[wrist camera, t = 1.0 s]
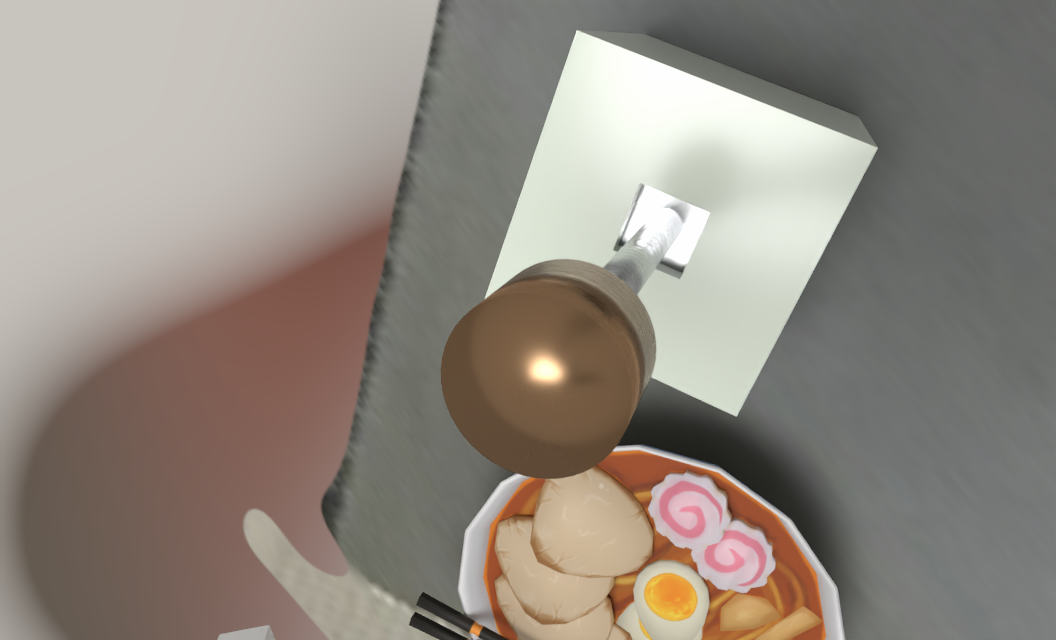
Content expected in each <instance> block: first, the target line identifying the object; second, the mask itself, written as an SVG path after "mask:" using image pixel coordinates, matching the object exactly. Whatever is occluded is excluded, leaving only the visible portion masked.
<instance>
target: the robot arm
mask: <svg viewBox="0 0 1056 640" xmlns="http://www.w3.org/2000/svg"><path fill="white" fill-rule="evenodd" d="M218 640H275V638H274V635H273V633H272V631H271V628H270V626H269V625H267V626H262V627H256V628H251V629H246V630H241V631H235V632H230V633H225V634H220V635H219V638H218Z"/></svg>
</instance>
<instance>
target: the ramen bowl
mask: <svg viewBox="0 0 1056 640" xmlns="http://www.w3.org/2000/svg"><path fill="white" fill-rule="evenodd" d="M458 593H459V596H460V600H461V603H462V607H463V611H464V614H465V615H463V614H462V613H460V612H458V611H456V610H454V609H453V608H451V607H449V606H447V605H445V604H444V603H442V602H440V601H438V600H436V599H435V598H433V597H431V596H429V595H427V594H426V593H424V592H423V593H422V594H421V596H420V597H419V599H418V602H417V604H416V605H417V606H419V607H421V608H423V609H425V610H427V611H429V612H431V613H433V614H435V615H436V616H438V617H440V618H442V619H444V620H446V621H448V622H450V623H452V624H454V625H456V626H458V627H459V628H461V629H463V630H465V631H467V632H469V633H470V635H471V639H472V640H845V635H844V629H843V622H842V615H841V608H840V601H839V594H838V588H837V586H836V585H835V583H834V582H833V580H832V579H831V578H830V576H829V575H828V573H827V572H826V570H825V569H824V567H823V566H822V564H821V563H820V561H819V560H818V558H817V557H816V555H815V554H814V552H813V551H812V550H811V548H810V547H809V545H808V544H807V542H806V541H805V539H804V538H803V536H802V535H801V533H800V532H799V530H798V529H797V527H796V526H795V524H794V523H793V522H792V520H791V519H790V518H789V517H787V516H786V515H785V514H784V513H783V512H782V511H780V510H779V509H777V508H776V507H775V506H773V505H772V504H771V503H769V502H768V501H766V500H765V499H764V498H762V497H761V496H759V495H758V494H757V493H755V492H754V491H753V490H751V489H750V488H748V487H747V486H746V485H744V484H743V483H741V482H740V481H739V480H737V479H736V478H735V477H733V476H732V475H730V474H729V473H728V472H726V471H725V470H723V469H722V468H721V467H719V466H718V465H715V464H711V463H708V462H704V461H700V460H697V459H693V458H690V457H686V456H683V455H679V454H676V453H672V452H669V451H665V450H661V449H658V448H654V447H651V446H647V445H644V444H641V445H625V446H616V447H615V449H614V450H613V451H612V453H611V454H610V455H608V456H607V457H606V458H605V459H604V460H603V461H602V462H600V463H599V464H598V465H596V466H595V467H593V468H591V469H589V470H587V471H585V472H583V473H580V474H577V475H574V476H570V477H565V478H558V479H540V478H533V477H527V476H523V475H520V474H515V475H513V476H511V477H509V478H507V479H505V480H503V481H502V482H500V484H499V485H498V486H497V488H496V489H495V490H494V492H493V493H492V495H491V496H490V497H489V499H488V500H487V502H486V503H485V504H484V506H483V507H482V508H481V510H480V511H479V513H478V514H477V515H476V517H475V518H474V519H473V521H472V522H471V524H470V525H469V526H468V528H467V529H466V530H465V537H464V544H463V552H462V560H461V568H460V575H459V583H458ZM409 625H410V626H412V627H414V628H417V629H419V630H421V631H423V632H425V633H427V634H429V635H431V636H433V637H435V638H437V639H439V640H469V639H467V638H465V637H463V636H461V635H459V634H458V633H456V632H454V631H452V630H450V629H448V628H446V627H444V626H442V625H440V624H438V623H436V622H434V621H432V620H430V619H428V618H426V617H424V616H423V615H421V614H419V613H417V612H415V613H414V615H413V616H412V618H411V620H410V624H409Z"/></svg>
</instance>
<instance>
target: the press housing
mask: <svg viewBox="0 0 1056 640" xmlns="http://www.w3.org/2000/svg"><path fill="white" fill-rule="evenodd" d="M877 149H878V147H877V145H876V144H875V142H874V141H873V139H872V137H871V136H870V134H869V133H868V131H867V130H866V128H865V126H864V125H863V123H862V122H861V120H860V118H859V117H858V116H856V115H853V114H851V113H848V112H845V111H843V110H840V109H838V108H835V107H833V106H830V105H827V104H825V103H822V102H820V101H817V100H814V99H812V98H809V97H807V96H804V95H801V94H799V93H796V92H794V91H791V90H788V89H786V88H783V87H781V86H778V85H775V84H773V83H770V82H768V81H765V80H763V79H760V78H757V77H755V76H752V75H750V74H747V73H744V72H742V71H739V70H737V69H734V68H731V67H729V66H726V65H724V64H721V63H718V62H716V61H713V60H711V59H708V58H705V57H703V56H700V55H698V54H695V53H692V52H690V51H687V50H685V49H682V48H680V47H677V46H674V45H672V44H669V43H667V42H664V41H661V40H659V39H656V38H654V37H651V36H648V35H646V34H635V33H617V32H600V31H583V30H577V32H576V35H575V37H574V40H573V43H572V46H571V49H570V52H569V55H568V58H567V61H566V64H565V67H564V69H563V72H562V75H561V78H560V81H559V84H558V87H557V90H556V93H555V96H554V99H553V101H552V104H551V107H550V110H549V113H548V116H547V119H546V122H545V125H544V128H543V131H542V134H541V136H540V139H539V142H538V145H537V148H536V151H535V154H534V157H533V160H532V163H531V166H530V168H529V171H528V174H527V177H526V180H525V183H524V186H523V189H522V192H521V195H520V198H519V200H518V203H517V206H516V209H515V212H514V215H513V218H512V221H511V224H510V227H509V230H508V232H507V235H506V238H505V241H504V244H503V247H502V250H501V253H500V256H499V259H498V262H497V265H496V267H495V270H494V273H493V276H492V279H491V282H490V285H489V288H488V291H487V294H486V297H485V299H486V298H487V297H488V296H490V295H491V294H492V293H493V292H495V291H496V290H497V289H499V288H500V287H501V286H502V285H504V284H505V283H506V282H508V281H509V280H510V279H511V278H513V277H514V276H515V275H517V274H518V273H520V272H521V271H523V270H524V269H526V268H528V267H530V266H532V265H534V264H537V263H540V262H544V261H548V260H554V259H573V260H580V261H585V262H589V263H592V264H595V265H597V266H600V267H602V268H603V267H604V266H605V265H606V264H607V263H608V262H609V261H610V259H611V258H612V257H613V256H614V255H615V254H616V253H617V252H618V251H619V250H620V249H621V248H622V246H620V245H618V244H619V241H620V239H621V236H622V234H623V231H624V229H625V226H626V224H627V222H628V219H629V217H630V214H631V212H632V209H633V207H634V204H635V202H636V199H637V197H638V195H639V192H640V190H641V187H642V185H643V184H644V185H646V186H648V187H651V188H653V189H655V190H658V191H660V192H663V193H665V194H667V195H670V196H672V197H674V198H677V199H679V200H682V201H684V202H686V203H689V204H691V205H693V206H696V207H698V208H701V209H703V210H705V211H708V212H710V214H709V216H708V218H707V221H706V223H705V225H704V227H703V229H702V232H701V234H700V236H699V238H698V241H697V243H696V245H695V247H694V249H693V252H692V254H691V256H690V258H689V260H688V263H687V265H686V267H685V269H684V272H683V273H682V272H679V271H677V270H675V269H673V268H670V267H668V266H666V265H663V264H661V263H659V265H658V266H657V268H656V269H655V270H654V272H653V273H652V275H651V276H650V278H649V279H648V280H647V282H646V283H645V285H644V286H643V288H642V289H641V290H640V292H639V293H638V295H637V296H638V297H639V299H640V300H641V302H642V303H643V305H644V306H645V308H646V310H647V312H648V314H649V316H650V319H651V322H652V325H653V328H654V333H655V338H656V361H655V365H654V370H653V373H652V376H651V377H652V378H654V379H656V380H659V381H661V382H663V383H665V384H667V385H669V386H671V387H674V388H676V389H678V390H680V391H682V392H684V393H686V394H689V395H691V396H693V397H695V398H697V399H699V400H702V401H704V402H706V403H708V404H710V405H712V406H714V407H717V408H719V409H721V410H723V411H725V412H727V413H729V414H732V415H734V416H736V417H737V415H738V413H739V411H740V409H741V407H742V405H743V404H744V402H745V400H746V398H747V396H748V394H749V392H750V390H751V388H752V386H753V384H754V383H755V381H756V379H757V377H758V375H759V373H760V371H761V369H762V367H763V365H764V364H765V362H766V360H767V358H768V356H769V354H770V352H771V350H772V348H773V346H774V345H775V343H776V341H777V339H778V337H779V335H780V333H781V331H782V329H783V327H784V326H785V324H786V322H787V320H788V318H789V316H790V314H791V312H792V310H793V308H794V307H795V305H796V303H797V301H798V299H799V297H800V295H801V293H802V291H803V289H804V288H805V286H806V284H807V282H808V280H809V278H810V276H811V274H812V272H813V270H814V269H815V267H816V265H817V263H818V261H819V259H820V257H821V255H822V253H823V251H824V250H825V248H826V246H827V244H828V242H829V240H830V238H831V236H832V234H833V232H834V231H835V229H836V227H837V225H838V223H839V221H840V219H841V217H842V215H843V213H844V212H845V210H846V208H847V206H848V204H849V202H850V200H851V198H852V196H853V194H854V193H855V191H856V189H857V187H858V185H859V183H860V181H861V179H862V177H863V175H864V174H865V172H866V170H867V168H868V166H869V164H870V162H871V160H872V158H873V156H874V155H875V153H876V151H877Z"/></svg>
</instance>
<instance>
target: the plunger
mask: <svg viewBox="0 0 1056 640" xmlns="http://www.w3.org/2000/svg"><path fill="white" fill-rule="evenodd" d="M709 214H710V212H708V211H705V210H703V209H701V208H698V207H696V206H693V205H691V204H689V203H686V202H684V201H682V200H679V199H677V198H674V197H672V196H670V195H667V194H665V193H663V192H660V191H658V190H655V189H653V188H651V187H648V186H646V185H644V184H643V185H642V187H641V190H640V192H639V195H638V197H637V199H636V202H635V204H634V207H633V209H632V212H631V214H630V217H629V219H628V222H627V224H626V226H625V229H624V231H623V234H622V236H621V239H620V241H619V244H618V245H620V246H622V248H621V249H620V250H619V251H618V252H617V253H616V254H615V255H614V256H613V257H612V258H611V259H610V261H609V262H608V263H607V264H606V265H605V266H604V267H603V268H602V267H600V266H597V265H595V264H592V263H589V262H585V261H580V260H573V259H554V260H548V261H544V262H540V263H537V264H534V265H532V266H530V267H528V268H526V269H524V270H523V271H521V272H520V273H518V274H517V275H515V276H514V277H513V278H511V279H510V280H509V281H508V282H506V283H505V284H504V285H502V286H501V287H500V288H499V289H497V290H496V291H495V292H493V293H492V294H491V295H490V296H488V297H487V298H486V299H484V300H483V301H482V302H481V303H479V304H478V305H477V306H475V307H474V308H473V309H472V310H470V311H469V312H468V313H467V314H466V315H465V316H464V317H463V318H462V319H461V320H460V321H459V323H458V324H457V325H456V326H455V328H454V329H453V331H452V333H451V334H450V336H449V338H448V341H447V343H446V346H445V349H444V353H443V357H442V364H441V384H442V390H443V395H444V399H445V402H446V405H447V408H448V410H449V413H450V415H451V417H452V419H453V421H454V422H455V424H456V426H457V428H458V429H459V430H460V432H461V433H462V435H463V436H464V437H465V438H466V439H467V441H468V442H469V443H470V444H471V445H472V446H473V447H474V448H475V449H476V450H477V451H478V452H479V453H481V454H482V455H483V456H485V457H486V458H487V459H489V460H490V461H491V462H493V463H495V464H497V465H498V466H500V467H502V468H504V469H506V470H509V471H511V472H513V473H517V474H520V475H523V476H527V477H533V478H540V479H558V478H565V477H570V476H574V475H577V474H580V473H583V472H585V471H587V470H589V469H591V468H593V467H595V466H596V465H598V464H599V463H600V462H602V461H603V460H604V459H605V458H606V457H607V456H608V455H610V454H611V453H612V451H613V450H614V449H615V447H616V446H617V445H618V444H619V442H620V440H621V438H622V436H623V435H624V433H625V431H626V429H627V427H628V424H629V422H630V420H631V418H632V416H633V414H634V412H635V410H636V408H637V406H638V404H639V402H640V400H641V398H642V395H643V393H644V391H645V389H646V387H647V385H648V383H649V381H650V378H651V376H652V373H653V370H654V365H655V361H656V338H655V333H654V328H653V325H652V322H651V319H650V316H649V314H648V312H647V310H646V308H645V306H644V305H643V303H642V302H641V300H640V299H639V297H638V296H637V295H638V293H639V292H640V290H641V289H642V288H643V286H644V285H645V283H646V282H647V280H648V279H649V278H650V276H651V275H652V273H653V272H654V270H655V269H656V268H657V266H658V265H659V263H661V264H663V265H666V266H668V267H670V268H673V269H675V270H677V271H679V272H682V273H683V272H684V269H685V267H686V265H687V263H688V260H689V258H690V256H691V254H692V252H693V249H694V247H695V245H696V243H697V241H698V238H699V236H700V234H701V232H702V229H703V227H704V225H705V223H706V221H707V218H708V216H709Z"/></svg>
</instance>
